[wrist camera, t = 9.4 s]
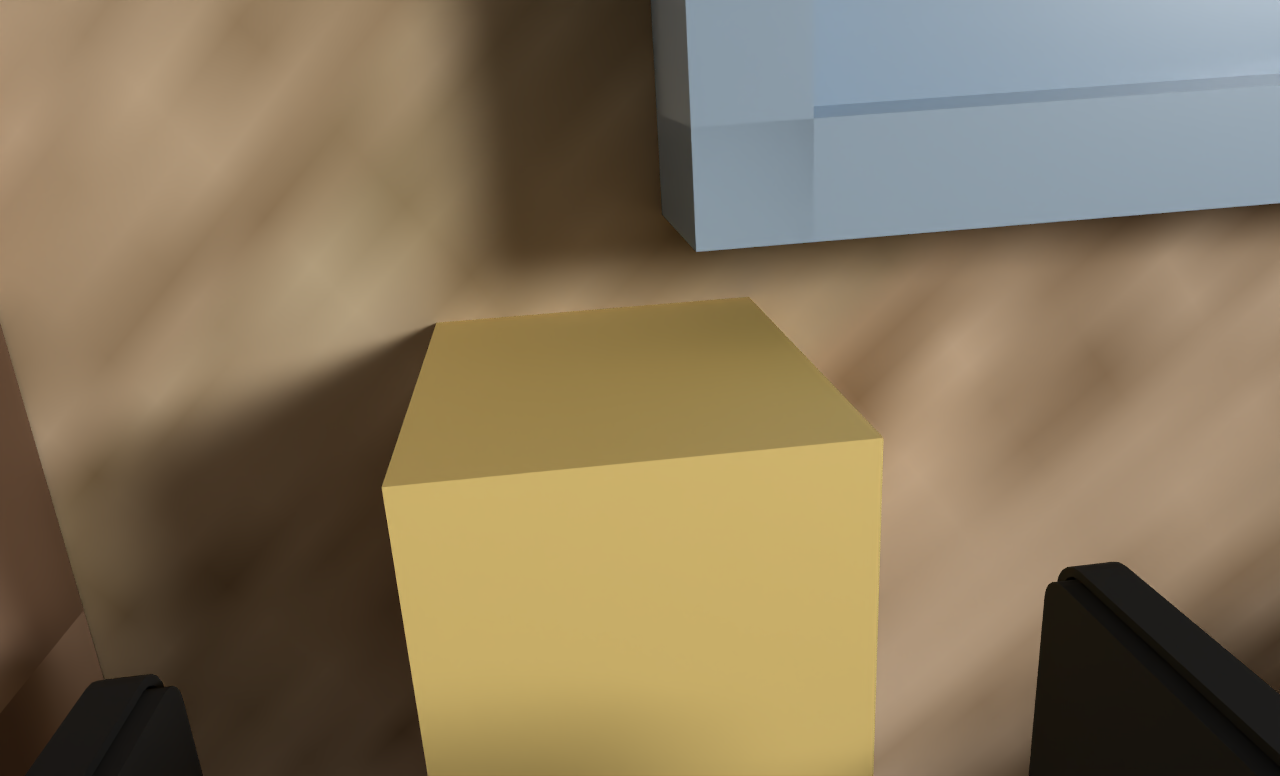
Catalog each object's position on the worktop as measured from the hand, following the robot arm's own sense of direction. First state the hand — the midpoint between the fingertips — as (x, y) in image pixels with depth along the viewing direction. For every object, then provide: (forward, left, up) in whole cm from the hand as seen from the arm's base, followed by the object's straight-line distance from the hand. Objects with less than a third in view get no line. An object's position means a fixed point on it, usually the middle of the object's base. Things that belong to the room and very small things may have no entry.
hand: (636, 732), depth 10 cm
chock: (0, -1, -3) cm, 4 cm away
